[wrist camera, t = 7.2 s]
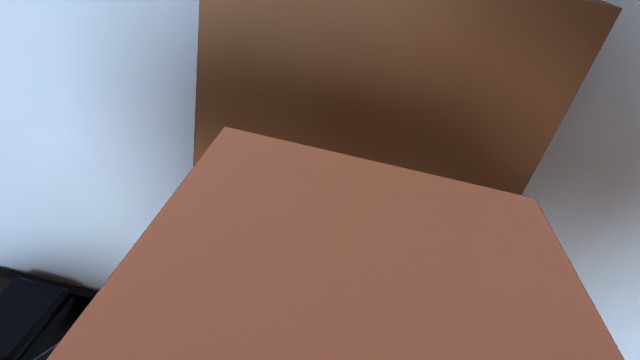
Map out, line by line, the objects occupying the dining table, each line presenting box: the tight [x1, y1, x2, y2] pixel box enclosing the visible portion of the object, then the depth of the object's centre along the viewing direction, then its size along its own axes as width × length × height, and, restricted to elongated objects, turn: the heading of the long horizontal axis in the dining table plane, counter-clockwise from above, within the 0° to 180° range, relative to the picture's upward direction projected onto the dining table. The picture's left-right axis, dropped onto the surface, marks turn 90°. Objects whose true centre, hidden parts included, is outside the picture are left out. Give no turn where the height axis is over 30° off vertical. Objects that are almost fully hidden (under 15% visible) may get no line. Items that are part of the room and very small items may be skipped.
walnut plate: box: [193, 0, 622, 195], centre depth 15 cm, size 11×11×2 cm
